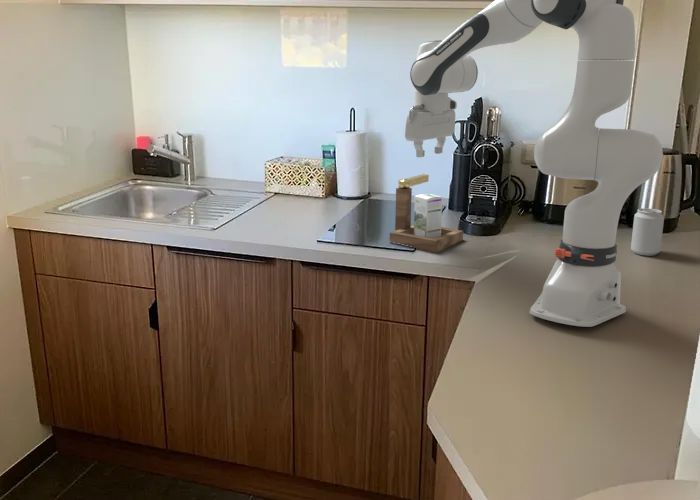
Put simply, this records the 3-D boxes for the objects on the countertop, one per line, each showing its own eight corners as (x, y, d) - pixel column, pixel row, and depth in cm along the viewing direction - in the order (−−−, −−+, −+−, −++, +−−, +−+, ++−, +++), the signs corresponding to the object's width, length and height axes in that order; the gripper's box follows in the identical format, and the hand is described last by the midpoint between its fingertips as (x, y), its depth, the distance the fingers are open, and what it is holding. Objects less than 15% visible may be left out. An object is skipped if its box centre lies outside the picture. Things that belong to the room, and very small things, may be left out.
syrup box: (441, 246, 201) (443, 196, 197) (425, 249, 197) (427, 198, 194) (428, 242, 205) (430, 192, 202) (412, 245, 202) (413, 194, 198)
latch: (406, 188, 201) (406, 181, 200) (396, 187, 202) (396, 180, 202) (430, 181, 212) (430, 174, 212) (420, 180, 214) (420, 174, 213)
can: (662, 257, 192) (667, 213, 188) (632, 255, 193) (637, 211, 190) (656, 250, 199) (661, 207, 196) (628, 248, 200) (632, 206, 197)
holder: (435, 255, 192) (437, 198, 188) (383, 245, 202) (384, 191, 198) (462, 244, 203) (465, 190, 199) (412, 235, 213) (413, 184, 209)
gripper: (420, 106, 182) (418, 160, 186) (460, 102, 198) (457, 152, 201) (399, 105, 186) (398, 158, 189) (440, 101, 201) (438, 150, 205)
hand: (429, 155), depth 196 cm, fingers open, 8 cm apart
